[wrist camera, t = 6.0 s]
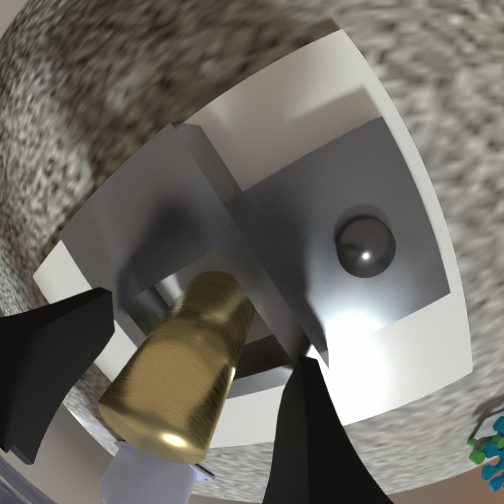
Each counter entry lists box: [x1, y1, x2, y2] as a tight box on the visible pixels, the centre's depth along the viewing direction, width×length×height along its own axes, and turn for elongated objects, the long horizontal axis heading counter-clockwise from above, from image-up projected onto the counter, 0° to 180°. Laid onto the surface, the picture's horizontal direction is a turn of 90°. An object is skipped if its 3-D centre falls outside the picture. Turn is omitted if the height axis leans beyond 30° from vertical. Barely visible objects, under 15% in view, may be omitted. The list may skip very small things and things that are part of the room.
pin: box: [98, 271, 255, 464], centre depth 9 cm, size 3×3×7 cm
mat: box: [32, 29, 473, 448], centre depth 14 cm, size 22×18×1 cm
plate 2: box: [139, 116, 451, 361], centre depth 11 cm, size 12×7×2 cm, turn 122°
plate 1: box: [58, 122, 329, 399], centre depth 11 cm, size 7×10×2 cm
